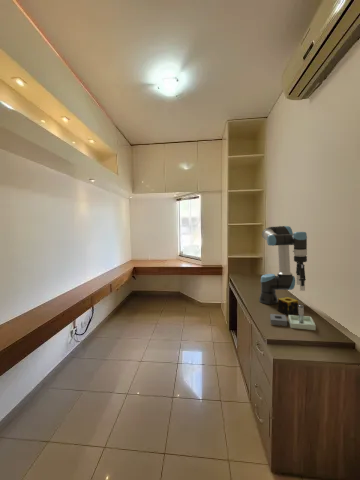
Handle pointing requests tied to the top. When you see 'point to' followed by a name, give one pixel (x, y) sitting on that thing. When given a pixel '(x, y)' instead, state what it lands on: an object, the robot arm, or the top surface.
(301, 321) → the pin
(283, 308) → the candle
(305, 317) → the tray
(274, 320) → the socket block
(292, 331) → the top surface
